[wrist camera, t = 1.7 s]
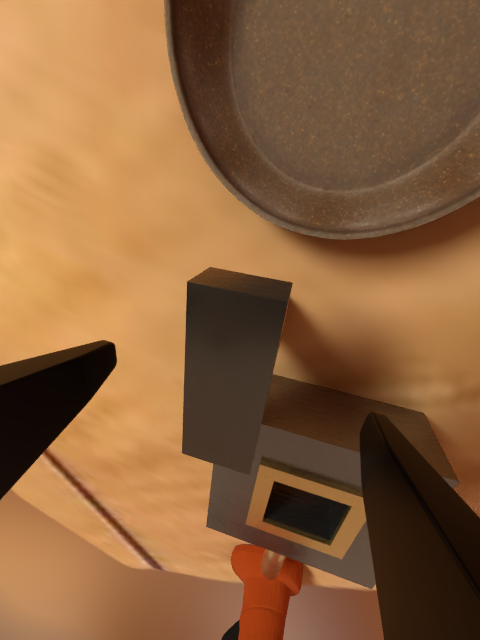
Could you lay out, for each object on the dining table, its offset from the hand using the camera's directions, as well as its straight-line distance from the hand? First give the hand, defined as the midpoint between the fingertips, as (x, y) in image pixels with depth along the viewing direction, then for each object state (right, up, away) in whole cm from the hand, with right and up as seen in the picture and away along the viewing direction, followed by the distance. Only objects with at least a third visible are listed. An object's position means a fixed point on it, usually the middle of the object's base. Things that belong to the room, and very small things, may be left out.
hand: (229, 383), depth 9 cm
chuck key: (+2, +3, +7) cm, 8 cm away
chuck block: (+5, -11, +13) cm, 18 cm away
